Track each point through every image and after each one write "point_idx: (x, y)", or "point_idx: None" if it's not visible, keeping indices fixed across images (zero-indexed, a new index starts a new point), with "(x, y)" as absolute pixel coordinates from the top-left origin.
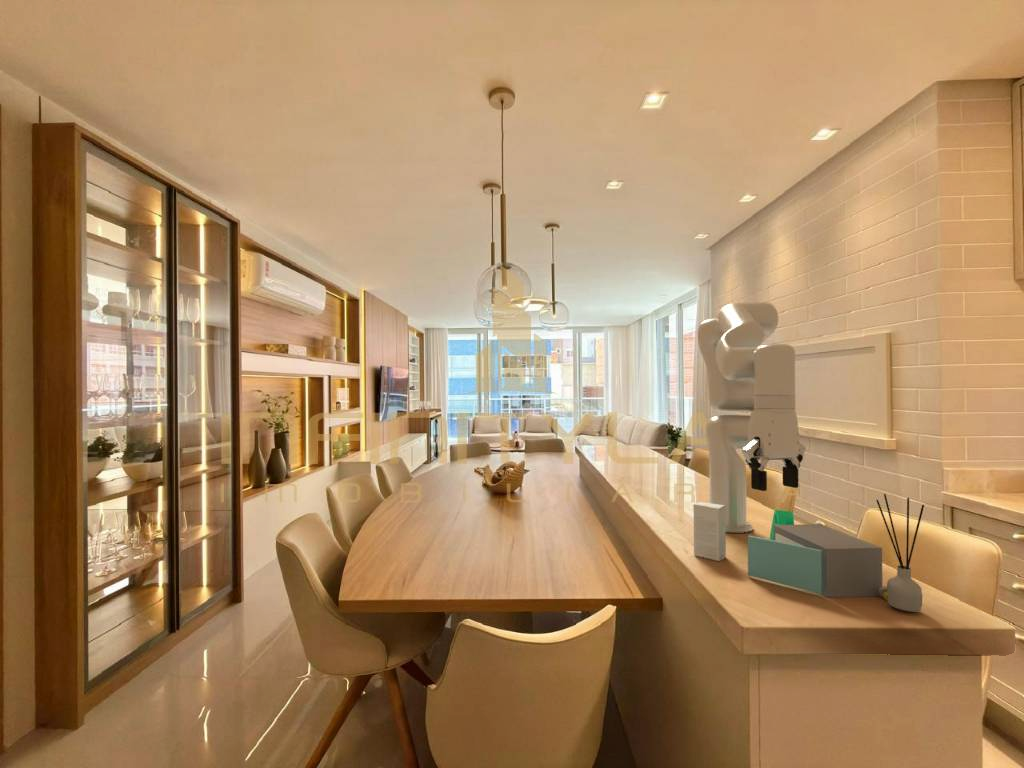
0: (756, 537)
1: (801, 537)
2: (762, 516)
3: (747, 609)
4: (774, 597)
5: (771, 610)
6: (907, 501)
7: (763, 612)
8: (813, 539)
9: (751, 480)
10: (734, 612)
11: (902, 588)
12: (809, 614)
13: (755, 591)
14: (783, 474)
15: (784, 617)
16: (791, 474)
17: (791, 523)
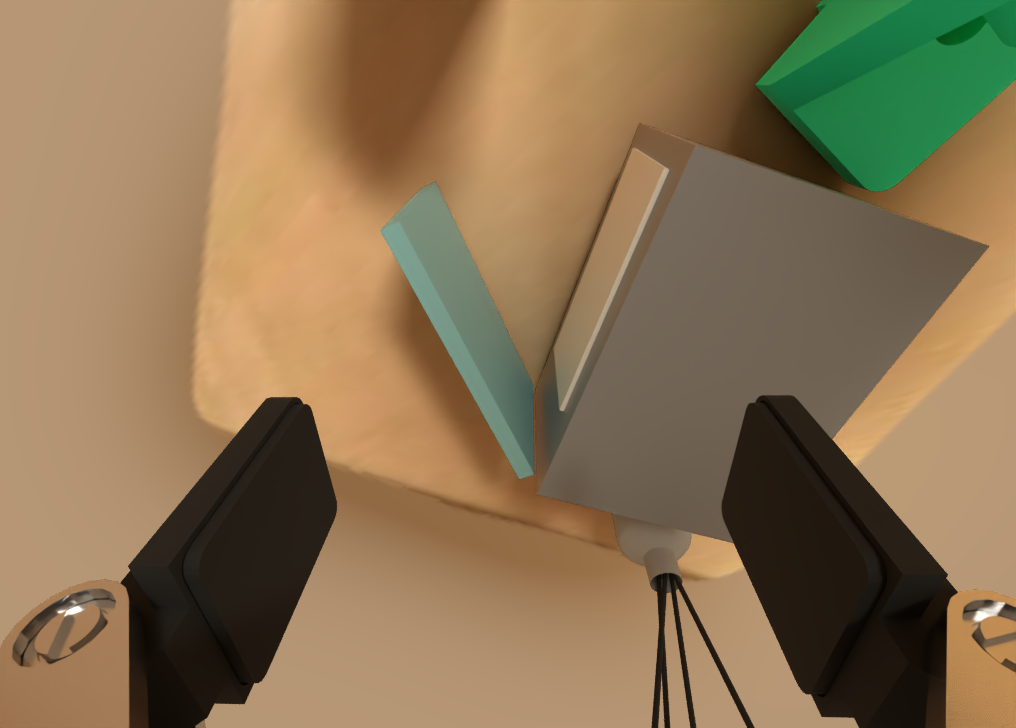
0: (408, 265)
1: (591, 375)
2: None
3: (251, 364)
4: (385, 338)
5: (314, 388)
6: None
7: (284, 389)
8: (612, 412)
9: (229, 446)
10: (204, 364)
11: (621, 549)
12: (394, 432)
13: (359, 288)
14: (806, 494)
15: (319, 422)
16: (783, 592)
17: (1007, 35)
